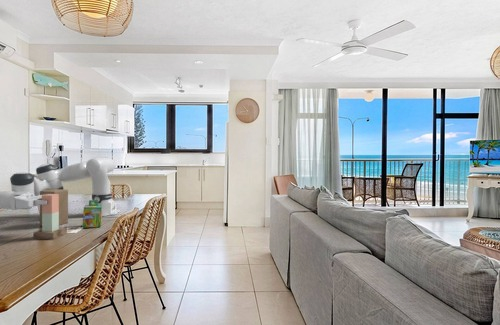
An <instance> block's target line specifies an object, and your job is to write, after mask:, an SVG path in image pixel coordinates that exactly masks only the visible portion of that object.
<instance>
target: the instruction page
mask: <svg viewBox="0 0 500 325" xmlns="http://www.w3.org/2000/svg"><path fill="white" fill-rule="evenodd" d="M66 228H67V234H77V233H79V232H80V231H81V230H84V228H83V226H82V227H81V226H75V227H71V226H70V227H66Z"/></svg>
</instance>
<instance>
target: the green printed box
mask: <svg viewBox="0 0 500 325" xmlns="http://www.w3.org/2000/svg"><path fill="white" fill-rule="evenodd" d="M92 202H95V203H96V204H94V205H93V204H91V203H92ZM82 215H83V216H82V217H83V218H82V227H83V229H86V228H90V229H91V228H101V227H102V223H103V222H102V220H103V219H102V218H103V216H102V205H98V200H92V199H90V200H89V201H88V204H87V205H86V204H85V206H84V207H83V214H82Z"/></svg>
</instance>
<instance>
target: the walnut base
mask: <svg viewBox="0 0 500 325" xmlns="http://www.w3.org/2000/svg"><path fill="white" fill-rule="evenodd" d="M67 234H68V233H67V227H59V229H58V230H55V231H53V232H43V231H42V229H40V230H37V231H34V232H33V234H32V235H33V239H34V240H56V239H57V238H60V237H64V235H67Z"/></svg>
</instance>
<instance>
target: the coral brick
mask: <svg viewBox="0 0 500 325" xmlns="http://www.w3.org/2000/svg"><path fill="white" fill-rule="evenodd" d="M42 200H48V204H42V213H45V214H52V213H56V212H59V194H46V195H42Z"/></svg>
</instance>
